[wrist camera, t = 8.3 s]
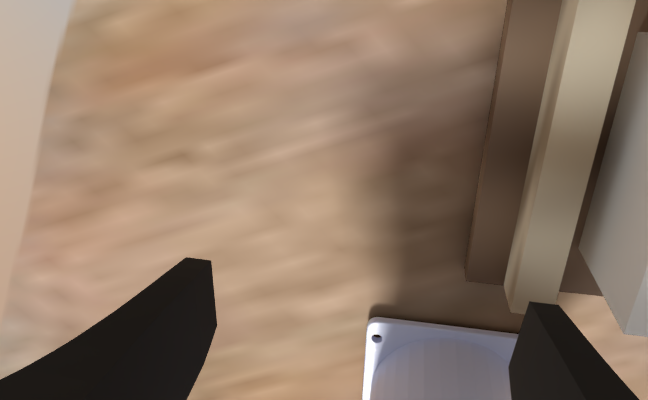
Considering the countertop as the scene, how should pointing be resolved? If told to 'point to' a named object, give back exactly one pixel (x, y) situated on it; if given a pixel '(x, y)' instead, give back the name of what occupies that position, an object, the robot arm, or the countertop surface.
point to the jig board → (548, 143)
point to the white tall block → (623, 204)
